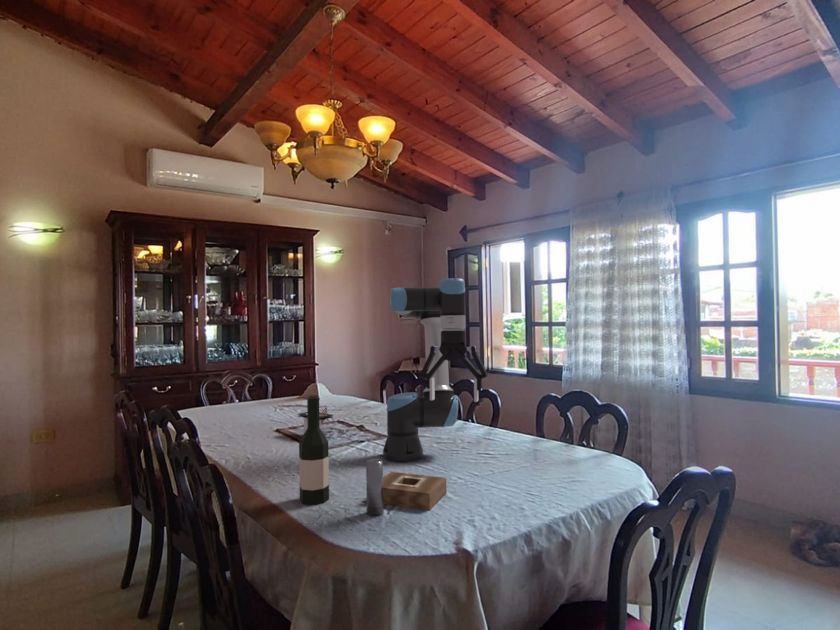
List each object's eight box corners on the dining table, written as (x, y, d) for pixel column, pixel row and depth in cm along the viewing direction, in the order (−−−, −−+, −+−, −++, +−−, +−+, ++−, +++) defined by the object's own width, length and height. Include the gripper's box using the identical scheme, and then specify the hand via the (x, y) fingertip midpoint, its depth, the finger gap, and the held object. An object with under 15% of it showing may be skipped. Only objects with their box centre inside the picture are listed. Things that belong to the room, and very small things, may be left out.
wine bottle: (301, 495, 150) (300, 393, 150) (330, 494, 151) (329, 393, 151) (297, 505, 142) (296, 398, 142) (327, 504, 143) (326, 397, 143)
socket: (370, 501, 144) (370, 485, 144) (391, 486, 157) (391, 471, 157) (429, 510, 138) (429, 492, 138) (446, 493, 151) (446, 477, 151)
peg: (363, 515, 135) (363, 462, 135) (371, 509, 139) (370, 458, 139) (378, 517, 133) (378, 464, 133) (386, 511, 137) (385, 459, 137)
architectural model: (366, 437, 223) (366, 404, 223) (315, 450, 202) (315, 415, 202) (315, 426, 246) (315, 397, 246) (264, 438, 224) (264, 406, 224)
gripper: (409, 330, 153) (410, 400, 153) (492, 329, 146) (493, 404, 146) (417, 329, 161) (418, 397, 160) (496, 329, 153) (497, 399, 153)
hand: (454, 400), depth 153 cm, fingers open, 13 cm apart
